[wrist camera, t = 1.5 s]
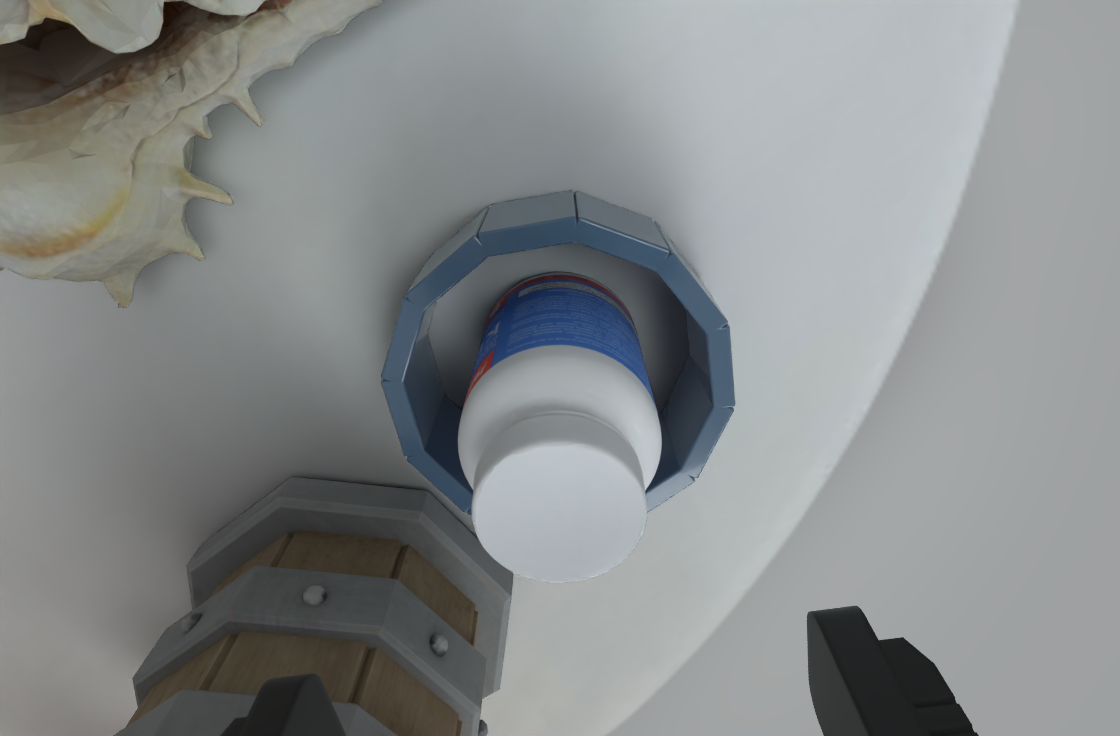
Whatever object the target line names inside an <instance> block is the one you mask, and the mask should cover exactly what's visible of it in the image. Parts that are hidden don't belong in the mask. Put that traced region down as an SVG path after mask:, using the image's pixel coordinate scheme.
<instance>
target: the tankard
mask: <svg viewBox="0 0 1120 736" xmlns="http://www.w3.org/2000/svg"><path fill="white" fill-rule="evenodd" d="M187 572H188V580H189V587H190V595H191V602H192V610H193V611H191V612H190V613H188V614H187V615H186V616H184V617H183V618H181V619H180V620H179V621H177V622H176V623H174V624H173V625H171V626H170V627H169V628H167V629H166V630H165V632H164V633H163V634H162V636H161V637H160V639H159V640H158V642H157V643H156V645H155V646H154V648H153V649H152V650H151V652H150V653H149V655H148V656H147V658H146V659H145V661H144V662H143V664H142V665H141V666H140V668H139V669H138V671H137V672H136V674H135V675H134V677H133V678H132V679H133V685H134V690H135V695H136V700H137V705H138V709H137V710H136V712H135V713H134V715H133V717H132V718H131V720H130V721H129V723H128V724H127V726H126V727H125V728H124V729H122V730H121V731H119V732H118V733H116V734H115V735H114V736H220V735H221V734H222V733H223V732H224V730H225V729H226V728H227V727H228V726H229V725H230V724H231V722H232V721H233V720H234V719H235V718H241V717H247V715H248V713H249V711H250V709H251V707H252V705H253V703H254V701H255V699H256V697H257V694H258V692H259V690H260V689H261V687H262V685H263V684H264V683H265V682H266V681H267V680H269V679H273V678H281V677H289V676H296V675H304V674H312V673H314V674H317V675H318V676H319V677H320V679H321V681H322V683H323V685H324V687H325V689H326V692H327V694H328V696H329V698H330V700H331V703H332V705H333V707H334V709H335V711H336V714H337V716H338V718H339V720H340V722H341V725H342V727H343V729H344V731H345V734H346V736H487V734H488V728H487V724H486V723H485V722H484V721H483V720H480V714H481V705H482V699H483V698H485V697H487V696H488V695H490V694H492V693H494V692H496V691H497V690H499V689H500V682H501V674H502V667H503V659H504V651H505V643H506V635H507V627H508V619H509V611H510V603H511V595H512V584H513V573H512V572H511V571H510V570H508V569H507V568H505V567H504V566H502V565H501V564H500V563H498V562H497V561H496V560H495V559H493V558H492V557H491V556H490V555H489V553H488V552H487V551H486V550H485V549H484V547H483V546H482V544H481V543H480V541H479V540H478V539H477V538H476V537H475V536H474V535H473V534H472V533H471V532H470V531H469V530H468V529H467V528H466V527H465V526H464V525H462V524H461V523H460V522H459V521H458V520H457V519H456V518H455V517H454V516H453V515H452V514H451V513H450V512H449V511H448V510H447V509H446V508H445V507H444V506H443V505H442V504H441V503H440V502H439V501H438V500H437V499H436V498H435V497H434V496H433V495H432V494H431V493H430V492H428V491H423V490H414V489H404V488H394V487H385V486H375V485H366V484H356V483H347V482H337V481H327V480H318V479H308V478H299V477H291V478H289V479H288V480H287V481H285V482H284V483H283V484H281V485H280V486H279V487H277V488H276V489H275V490H273V491H272V492H271V493H269V494H268V495H267V496H265V497H264V498H263V499H261V500H260V501H259V502H257V503H256V504H255V505H253V506H252V507H251V508H249V509H248V510H247V511H245V512H244V513H243V514H241V515H240V516H239V517H237V518H236V519H234V520H233V521H232V522H230V523H229V524H228V525H226V526H225V527H224V528H222V529H221V530H220V531H218V532H217V533H216V534H214V535H213V536H212V537H210V538H209V539H208V540H206V541H205V542H204V543H202V545H201V546H200V548H199V549H198V550H197V552H196V553H195V554H194V556H193V557H192V558H191V560H190V561H189V563H188V564H187Z"/></svg>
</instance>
